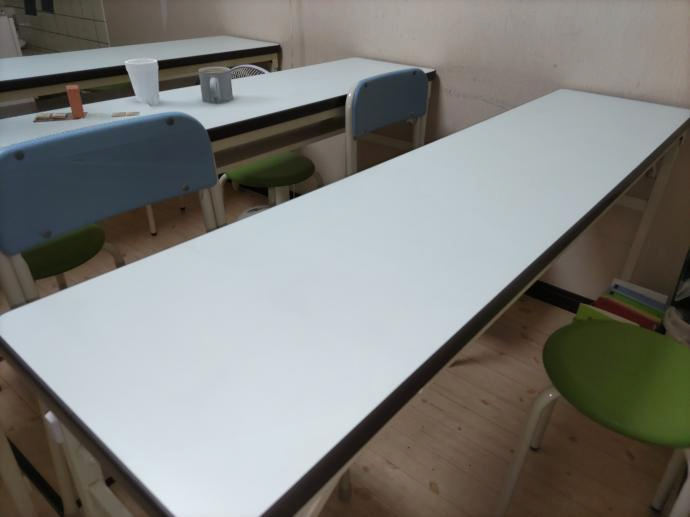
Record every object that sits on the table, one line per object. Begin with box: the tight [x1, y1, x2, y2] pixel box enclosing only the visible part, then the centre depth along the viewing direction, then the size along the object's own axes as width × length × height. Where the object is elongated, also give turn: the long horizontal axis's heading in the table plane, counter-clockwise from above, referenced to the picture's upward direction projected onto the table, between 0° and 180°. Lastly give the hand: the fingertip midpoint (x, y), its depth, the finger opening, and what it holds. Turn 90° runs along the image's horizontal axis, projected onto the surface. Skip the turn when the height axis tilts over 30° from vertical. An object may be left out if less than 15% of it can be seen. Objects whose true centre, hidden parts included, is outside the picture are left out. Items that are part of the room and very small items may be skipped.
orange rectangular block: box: [65, 84, 86, 119], centre depth 144 cm, size 3×5×8 cm, turn 26°
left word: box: [33, 111, 89, 123], centre depth 145 cm, size 13×8×2 cm, turn 106°
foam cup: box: [124, 58, 160, 107], centre depth 159 cm, size 10×9×13 cm
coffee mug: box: [198, 66, 234, 104], centre depth 165 cm, size 13×10×10 cm
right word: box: [96, 111, 140, 118], centre depth 147 cm, size 12×8×2 cm, turn 106°
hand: (38, 13), depth 130 cm, fingers open, 13 cm apart
